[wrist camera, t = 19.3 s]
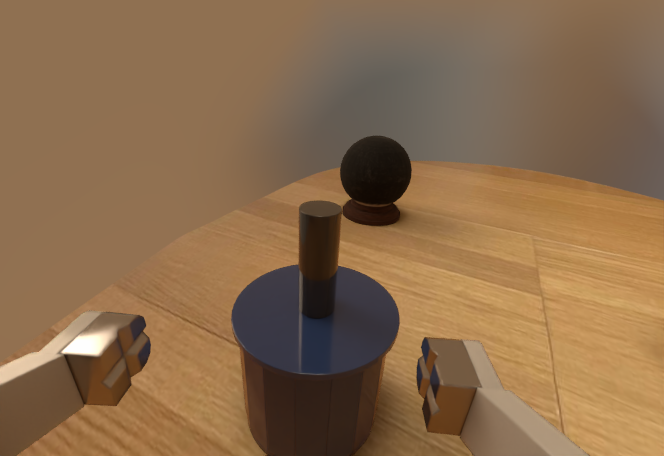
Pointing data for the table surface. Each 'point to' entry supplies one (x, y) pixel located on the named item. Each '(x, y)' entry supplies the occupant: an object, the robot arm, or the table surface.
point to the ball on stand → (374, 180)
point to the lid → (315, 309)
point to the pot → (310, 411)
